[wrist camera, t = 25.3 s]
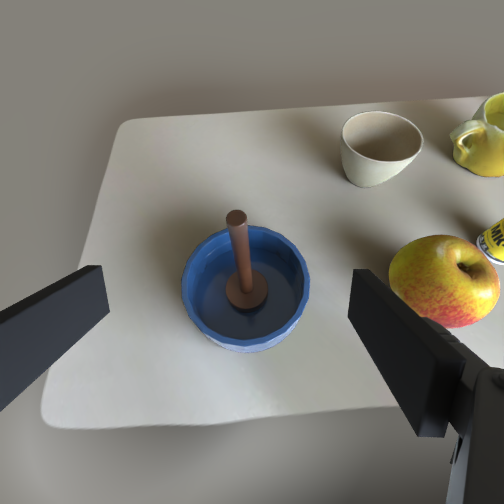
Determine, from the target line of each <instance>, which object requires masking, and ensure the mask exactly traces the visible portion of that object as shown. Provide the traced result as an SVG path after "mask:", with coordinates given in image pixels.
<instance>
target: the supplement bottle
mask: <svg viewBox="0 0 504 504" xmlns="http://www.w3.org/2000/svg"><path fill="white" fill-rule="evenodd" d="M477 247H478V249H480V250H481V251H482V252H483V253H484V255H485V256H486V257H487V258H488V260H490V261H492V262H494V263H497V264H501V265H504V218H503V219H502V220H500V221H499V222H498V223H496V224H495V225H493V226H492V227H490V228H489V229H487V230H486V231H485V232H483V233H482V234H481V235H480V236H479V237H478V239H477Z"/></svg>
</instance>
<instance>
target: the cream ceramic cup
mask: <svg viewBox="0 0 504 504" xmlns="http://www.w3.org/2000/svg"><path fill="white" fill-rule="evenodd" d="M422 147H423V136H422V134H421V132H420V130H419V129H418V128H417V126H416V125H415V124H413V123H412V122H411V121H409V120H408V119H406V118H404V117H402V116H399V115H397V114H394V113H389V112H383V111H368V112H362V113H359V114H356V115H354V116H352V117H351V118H349V119H348V120H347V121H346V122H345V124H344V125H343V128H342V133H341V145H340V149H341V159H342V164H343V168H344V171H345V173H346V176H347V178H348V179H349V180H350V182H352V183H353V184H355V185H357V186H359V187H364V188H369V187H373V186H376V185H379V184H381V183H383V182H385V181H387V180H389V179H390V178H392V177H393V176H395V175H396V174H398V173H399V172H400V171H401V170H403V169H404V168H405V167H406V166H407V165H408V164H409V163H410V162H411V161H412V160H413V159H414V158H415V157H416V156H417V155H418V153H419V152H420V151H421V149H422Z"/></svg>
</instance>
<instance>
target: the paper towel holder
mask: <svg viewBox="0 0 504 504" xmlns="http://www.w3.org/2000/svg"><path fill="white" fill-rule="evenodd" d="M226 222H227V227H228V232H229V236H230V241H231V246H232V251H233V255H234V260H235V265H236V270H237V271H236V272H235V273H233V274H232V275H231V276H230V277H229V279H228V281H227V283H226V288H225V290H226V295H227V298H228V301H229V303H230V304H231V306H232V307H233V308H234V309H236V310H238V311H240V312H244V313H250V312H254V311H256V310H258V309H260V308H261V307H262V306H263V305H264V303H265V302H266V300H267V296H268V284H267V281H266V279H265V277H264V276H263V275H262V274H261V273H260V272H258V271H256V270H253V269H251V260H250V248H249V237H248V225H247V216H246V214H245V213H244V212H243V211H241V210H233V211H231V212H229V213H228V215H227V217H226Z"/></svg>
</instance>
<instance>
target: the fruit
mask: <svg viewBox="0 0 504 504" xmlns="http://www.w3.org/2000/svg"><path fill="white" fill-rule="evenodd" d="M389 281H390V287H391V289H392V291H393V292H394V293H395V294H396V295H397V296H398V297H400V298H401V299H402V300H403V301H404V302H405V303H406V304H407V305H408V306H409V307H410V308H412V309H413V310H414V311H415V312H416V313H417V314H418V315H419V316H420V317H428V318H430V319H432V320H433V321H435V322H437V323H439V324H441V325H442V326H443V327H445V328H458V327H463V326H467V325H470V324H473V323H475V322H477V321H479V320H480V319H482V318H483V317H485V316H486V315H487V314H488V313H489V312H490V311H491V310H492V309H493V308H494V306H495V304H496V302H497V300H498V298H499V294H500V281H499V278H498V275H497V273H496V270H495V268H494V267H493V266H492V264H491V263H490V261H489V260H488V258H487V257H486V256H485V255H484V253H483V252H482V251H481V250H480V249H478V248H477V247H476V246H475V245H474V244H472V243H470V242H468V241H466V240H464V239H461V238H458V237H455V236H450V235H432V236H427V237H423V238H420V239H417V240H414V241H412V242H410V243H409V244H407V245H405V246H404V247H402V248H401V249H400V250H399V251H398V252H397V254H396V255H395V256H394V258H393V260H392V262H391V264H390V267H389Z"/></svg>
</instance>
